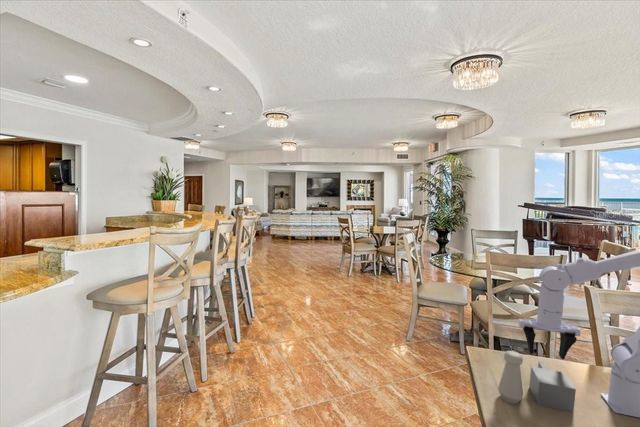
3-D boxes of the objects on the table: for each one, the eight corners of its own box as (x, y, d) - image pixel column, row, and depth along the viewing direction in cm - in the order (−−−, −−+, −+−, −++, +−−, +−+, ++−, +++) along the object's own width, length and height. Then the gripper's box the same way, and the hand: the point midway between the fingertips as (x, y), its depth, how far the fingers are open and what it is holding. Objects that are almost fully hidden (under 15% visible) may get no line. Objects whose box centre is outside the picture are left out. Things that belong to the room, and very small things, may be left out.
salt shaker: (525, 408, 86) (530, 360, 84) (501, 404, 87) (505, 357, 86) (517, 394, 91) (521, 349, 90) (494, 391, 92) (498, 346, 91)
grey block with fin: (573, 412, 85) (575, 389, 84) (537, 404, 87) (539, 381, 87) (555, 381, 98) (557, 361, 97) (524, 375, 100) (525, 356, 100)
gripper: (575, 308, 95) (570, 353, 96) (517, 300, 100) (514, 343, 101) (585, 317, 89) (580, 365, 90) (523, 309, 93) (519, 355, 95)
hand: (545, 354), depth 95 cm, fingers open, 7 cm apart
